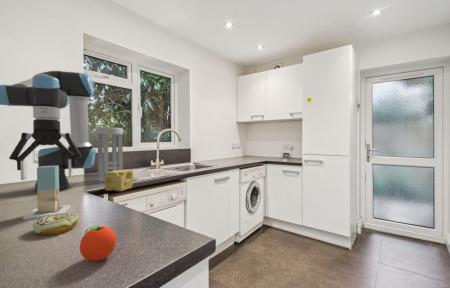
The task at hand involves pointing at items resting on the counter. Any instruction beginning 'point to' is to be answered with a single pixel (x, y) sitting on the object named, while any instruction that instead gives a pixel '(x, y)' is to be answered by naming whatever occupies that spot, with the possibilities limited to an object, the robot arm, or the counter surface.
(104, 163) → the stool
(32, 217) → the blueprint board
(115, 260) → the counter surface
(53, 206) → the birch block
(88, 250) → the tomato
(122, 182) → the cheese
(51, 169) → the teal block
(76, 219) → the decorated donut
